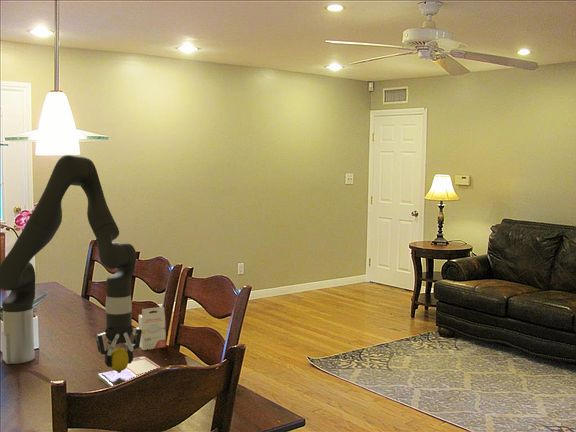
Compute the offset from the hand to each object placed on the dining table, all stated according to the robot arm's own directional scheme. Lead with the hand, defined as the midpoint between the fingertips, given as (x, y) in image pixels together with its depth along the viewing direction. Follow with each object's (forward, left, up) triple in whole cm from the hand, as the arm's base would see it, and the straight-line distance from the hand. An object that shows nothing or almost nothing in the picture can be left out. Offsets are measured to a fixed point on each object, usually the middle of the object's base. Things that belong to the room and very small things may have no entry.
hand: (119, 364), depth 190 cm
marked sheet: (+10, +8, -5) cm, 14 cm away
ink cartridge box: (+22, +26, -5) cm, 34 cm away
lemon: (0, 0, -3) cm, 3 cm away
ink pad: (0, 0, -5) cm, 5 cm away
